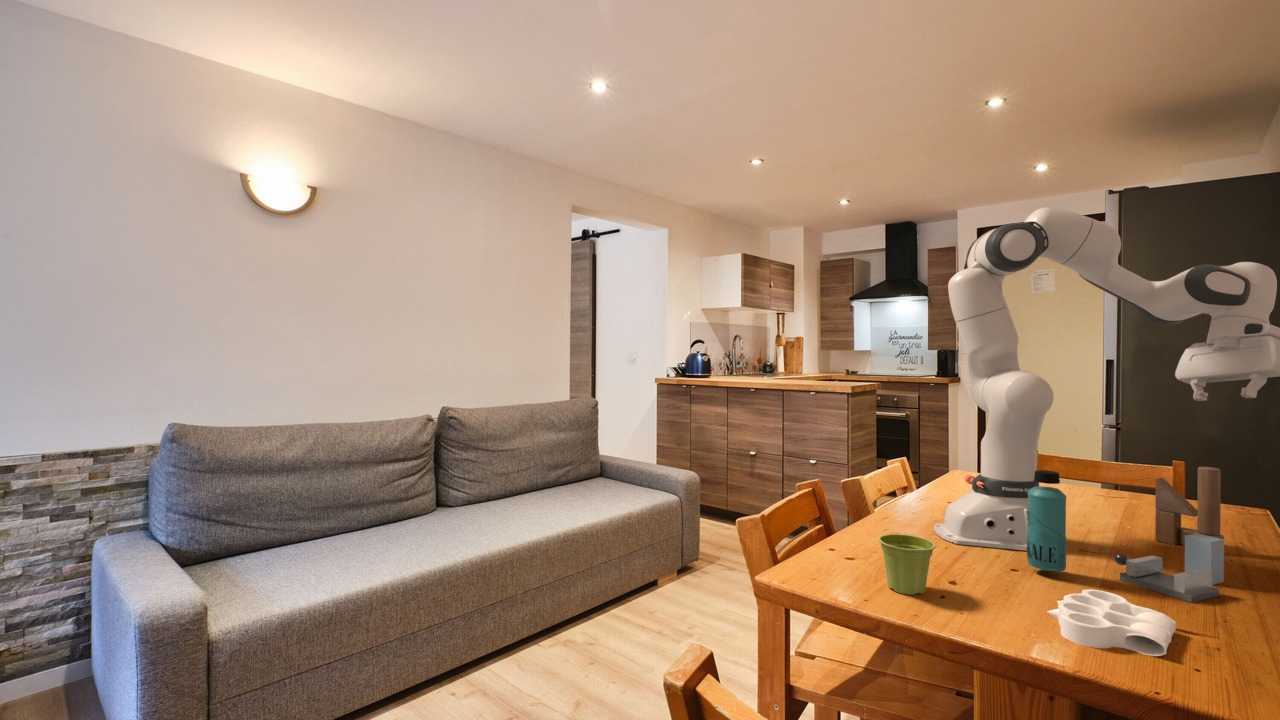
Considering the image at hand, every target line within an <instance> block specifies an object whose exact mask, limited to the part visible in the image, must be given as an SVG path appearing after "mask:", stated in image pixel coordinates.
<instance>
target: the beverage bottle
mask: <svg viewBox="0 0 1280 720" xmlns="http://www.w3.org/2000/svg"><path fill="white" fill-rule="evenodd" d="M1034 481H1036V482H1039V484H1049V485H1051V484H1052V485H1058V484H1061V479H1060V473H1059V472H1057V471H1054V470H1047V469H1046V470H1045V469H1037V470H1036V471H1035V476H1034ZM1027 508H1028V511H1027V517H1028V525H1027V526H1028V532H1027V533H1028V536H1027V537H1028V539H1027V540H1028V541H1027V551H1026V559H1027V564H1028V565H1029V566H1030V567H1032V568H1035V569H1038V570H1041V571H1046V572H1064V571H1065V570H1066V568H1067V536H1066V532H1067V527H1066V525H1067V520H1066V519H1067V495H1066V494H1065V493H1064V492H1063V491H1062V490H1061V489H1059V488H1055V487H1051V486H1040V485H1039V486H1037V487H1033V488H1032V489H1030V490H1029V491H1028V507H1027Z"/></svg>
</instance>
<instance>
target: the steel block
mask: <svg viewBox="0 0 1280 720" xmlns="http://www.w3.org/2000/svg"><path fill="white" fill-rule="evenodd" d="M1197 569H1205V570H1209V571H1212V586H1213V585H1217V584H1223V583H1225V538H1224V539H1220V538H1215V537H1211V536H1207V535H1202V534H1198V533H1197V534H1192V535H1186V536H1185V546H1184V572H1187V571H1192V570H1197ZM1222 582H1223V583H1222Z"/></svg>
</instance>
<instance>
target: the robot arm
mask: <svg viewBox="0 0 1280 720" xmlns="http://www.w3.org/2000/svg"><path fill="white" fill-rule="evenodd" d="M1121 249H1122V241H1121V236H1120V235H1119V232H1118V231H1117V230H1116V229H1114V228H1113V227H1111V226H1110V225H1109V224H1107V223H1104V222H1102V221H1099V220H1097V219H1095V218H1091V217H1089V216H1086V215H1084V214H1080V213H1076V212H1073V211H1069V210H1066V209H1061V208H1056V207H1051V206H1049V207H1048V206H1046V207H1041V208H1038V209H1036V210H1035V211H1033V212H1032V213H1031V214H1029V215H1028V216H1027V217H1026V219H1025V220H1024V221H1023V222H1012V223H1006V224H1003V225H1000V226H998V227H997V228H993V229H991V230H988V231H986V232H985V233H984V234H982V235H981V236H980V237H978V238H976V239H975V240H974V241H973V242H972V243H971V245H970V246H969V248H968V250H967V253H966V258H965V262H964V267H963V269H961V270H960V271H958V272H957V273H955V274H954V275H953V276H952V277H951V278H950V279H949V281H948V284H947V289H948V290H947V291H948V298H949V303H950V308H951V311H952V315H953V319H954V322H955V326H956V327H957V330H958V334H959V337H960V340H961V342H962V343H961V344H962V346H963V349H964V352H965V356H966V361H967V369H968V375H969V381H970V387H969V388H970V389H969V391H970V396H971V399H972V401H973V402H974V404H976V405H977V407H979V408H980V409H981V410H982V411H984V412H986V413H988V421H987V424H986V430H985V433H984V436H983V437H982V439H981V441H980V474H979V475H977V476H973V475H971V474H966V475H965V476H964V477H963V479H964V482H966V483H967V484H969V485H971V488H972V489H971V490H970V491H968V492H966V493H965V494H964V495H962V496H961V497H959V498H957V499H956V500H954V501H952V502H950V503H949V504H948V505H947V507H946V509H945V513H944V516H943V517H944V518H943V523H942V522H938V523H935V524H934V525H933V532H934V533H935V534H936V535H937V536H938V537H940V538H942V539H943V540H944V541H947V542H950V543H952V542H953V544H956V545H963V546H973V547H985V548H996V549H1007V550H1017V551H1024V552H1027V541H1028V540H1027V539H1028V537H1027V536H1028V533H1027V532H1028V526H1027V525H1028V517H1027V511H1028V508H1027V507H1028V491H1029V490H1030V489H1032V488H1033V487H1037V486H1040V482H1036V481H1034V476H1035V471H1036V470H1038V445H1039V438H1040V435H1041V432H1042V428H1043V423H1044V420H1045V415H1046V414H1047V413H1048V411H1050V409H1051V408H1052V405H1053V403H1054V391H1053V388H1052V387H1051V385H1050V384H1049V383H1048V381H1046V380H1045V379H1044V378H1042V377H1040V376H1039V375H1037V374H1035V373H1033V372H1031V371H1027V370H1021V369H1020V365H1019V364H1020V363H1019V358H1018V357H1019V356H1018V344H1019V335H1018V332H1017V329H1016V326H1015V324H1014V321H1013V319H1012V315H1011V313H1010V309H1009V307H1008V304H1007V301H1006V299H1005V296H1004V294H1003V281H1004V279H1005V277H1007V276H1010V275H1014V274H1015V273H1018V272H1020V271H1022V270H1025V269H1026V268H1028V267H1030V266H1031V265H1032V264H1033V263H1034V262H1035V261H1037V260H1038V258H1045V259H1049V260H1051V261H1052V262H1055V263H1057V264H1060V265H1062V266H1064V267H1067V268H1069V269H1071V270H1072V271H1074V272H1076V273H1078V275H1079V276H1080V277H1081V279H1083V280H1084V281H1086V282H1087V283H1089V284H1090V285H1092V286H1093V287H1096V288H1098V289H1099V290H1101V291H1104V292H1105V293H1108V294H1109V295H1111V296H1113V297H1115V298H1117V299H1119V300H1120V301H1123V302H1125V303H1127V304H1128V305H1130V306H1132V307H1133V308H1135V309H1136V310H1137V311H1138V312H1139V313H1140V314H1141V315H1143V316H1144V317H1145V318H1147V319H1148V320H1149V321H1151V322H1152V323H1155V324H1157V325H1161V326H1175V325H1178V324H1181V323H1183V322H1186V321H1187V320H1189V319H1191V318H1193V317H1195V316H1198V315H1201V314H1205V315H1209V316H1211V320H1210V324H1209V329H1208V332H1207V333H1208V334H1207V338H1206V341H1204V342H1196V343H1192V344H1191V346H1188V348H1185V350H1184V352H1183V354H1182V355H1181V357H1180V359H1179V361H1178V364H1177V366H1176V369H1175V373H1174V376H1175V378H1176V379H1177V380H1178V381H1180V382H1183V383H1185V384H1188V385H1190V386H1191V388H1192V391H1193V395H1192V398H1193V400H1195V401H1198V402H1204V401H1205V402H1206V401H1207V400H1208V396H1209V393H1208V392H1205V391H1204V388H1205V387H1206V384H1208V383H1217V382H1229V381H1242V380H1250V381H1249V383H1248V384H1247V385H1246V387H1245V386H1244V387H1241V392H1240V396H1241V397H1242V398H1245V399H1254V398H1255V399H1256V398H1257V394H1258V391H1260V389H1261V388H1262V387H1263V386H1264V385H1266V383H1267V382H1268V378H1275V377H1276V378H1277V377H1280V327H1278V326H1275V325H1273V324H1271V323H1270V316H1271V313H1272V311H1273V310H1274V307H1275V303H1276V297H1277V291H1278V281H1277V276H1276V273H1275V271H1274V270H1273V269H1272V268H1270V266H1268V265H1266V264H1265V265H1264V264H1262V263H1259V262H1253V261H1239V262H1236V263H1233V264H1230V265H1222V266H1221V265H1215V264H1209V263H1208V264H1207V263H1206V264H1199V265H1196V266H1193V267H1191V268H1189V269H1186V270H1184V271H1182V272H1180V273H1178V274H1176V275H1174V276H1171V277H1170V278H1167V279H1165V280H1159V281H1155V280H1154V281H1153V280H1148V279H1146V278H1143V277H1141V276H1140V275H1139V274H1136V273H1134V272H1132V271H1130V270H1128V269H1127V268H1124V267H1123V266H1121V265H1119V263H1118V262H1117V259H1118V257H1119V255H1120V253H1121Z"/></svg>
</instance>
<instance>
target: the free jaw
mask: <svg viewBox="0 0 1280 720" xmlns="http://www.w3.org/2000/svg"><path fill="white" fill-rule="evenodd" d="M1113 560H1114V562H1115V563H1116V564H1117V565H1119V566H1125V572H1126V574H1127V575H1130V576H1133V577H1138V576H1143V575H1148V574H1153V573H1158V572H1162V573H1163V557H1161V556H1157V555H1148V556H1142V557H1136V558H1129V557H1128V556H1127V555H1126V554H1124V553H1117V554H1115V555H1114V557H1113Z"/></svg>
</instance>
